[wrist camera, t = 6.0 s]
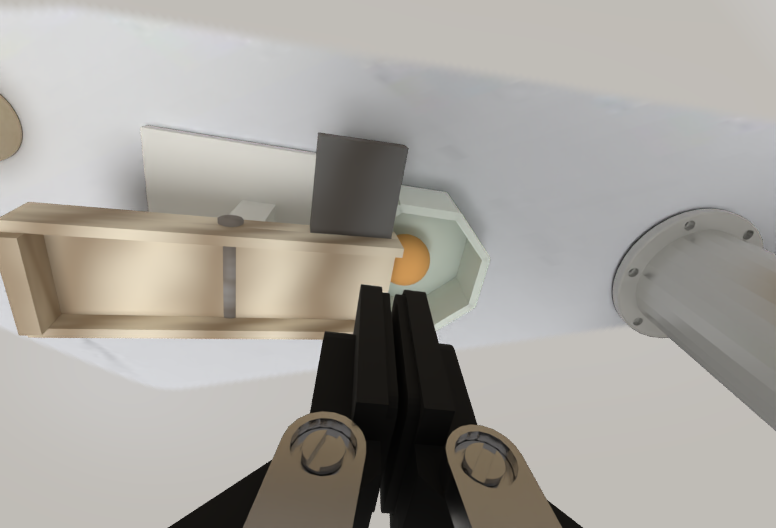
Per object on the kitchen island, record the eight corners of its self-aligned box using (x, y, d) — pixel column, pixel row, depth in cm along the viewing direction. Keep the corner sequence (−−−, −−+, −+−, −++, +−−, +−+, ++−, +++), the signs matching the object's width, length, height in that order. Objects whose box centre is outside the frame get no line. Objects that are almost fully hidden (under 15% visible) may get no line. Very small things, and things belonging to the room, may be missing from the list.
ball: (372, 230, 29) (406, 223, 32) (364, 277, 31) (397, 266, 34) (412, 251, 27) (445, 241, 30) (401, 300, 29) (434, 287, 31)
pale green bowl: (483, 197, 31) (503, 219, 27) (452, 305, 36) (465, 339, 31) (355, 177, 30) (354, 197, 25) (340, 292, 34) (336, 325, 30)
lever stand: (372, 161, 29) (375, 185, 23) (350, 307, 35) (348, 356, 29) (147, 125, 27) (85, 141, 21) (161, 285, 33) (116, 334, 27)
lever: (410, 145, 23) (427, 157, 21) (377, 319, 29) (386, 348, 26) (2, 85, 18) (-53, 91, 15) (55, 312, 24) (22, 347, 21)
